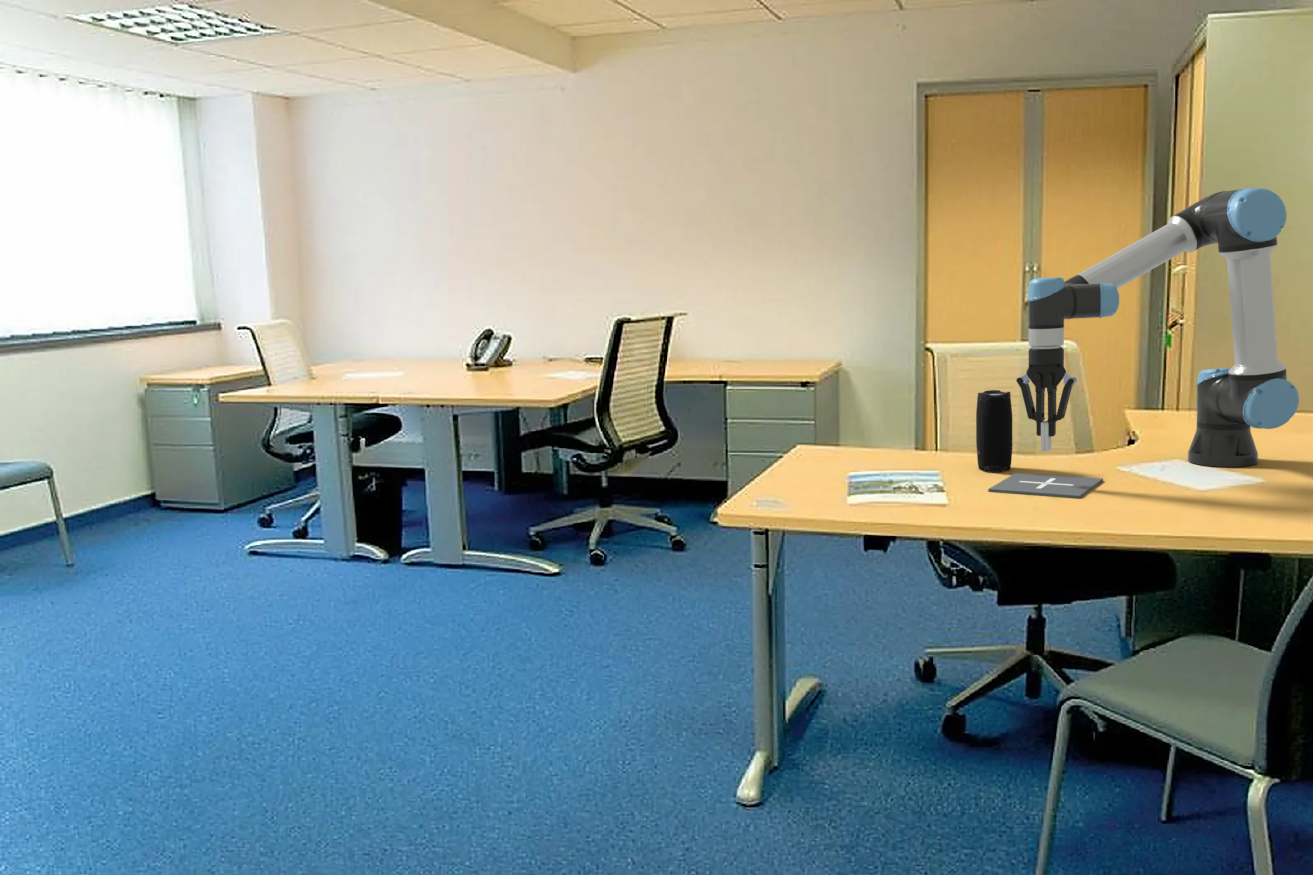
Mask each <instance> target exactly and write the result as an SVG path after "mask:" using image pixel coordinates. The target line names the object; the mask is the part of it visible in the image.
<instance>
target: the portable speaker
mask: <svg viewBox="0 0 1313 875" xmlns="http://www.w3.org/2000/svg"><path fill="white" fill-rule="evenodd" d="M1011 395H1012V394H1011V391H1001V390H998V389H997V390H996V389H994V390H993V389H992V390H991V389H989V390H984V391H983V392H977V398H976V401H977V402H976V411H975V412H976V413H975V417H976V418H975V419H976V420H975V423H976V424H975V425H976V426H975V430H976V432H975V433H976V434H975V436H976V437H975V441H976V443H975V444H976V445H975V446H976V456H977V457H976V458H977V465H978V470H982V469H983V470H984V471H985V472H986V473H1001V472H1002V471H1003V470H1005V469H1007V470H1011V468H1012V459H1013V456H1012V455H1013V410H1012V408H1013V407H1012V398H1011V397H1012V396H1011Z"/></svg>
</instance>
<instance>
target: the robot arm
mask: <svg viewBox="0 0 1313 875" xmlns="http://www.w3.org/2000/svg"><path fill="white" fill-rule="evenodd" d="M1286 209H1287V208H1286V206H1285V203H1284V202H1283V200H1282V198H1281V197H1280V196H1279V195H1278V194H1276V193H1275V192H1274V191H1272V190H1270V189H1268V188H1263V187H1245V188H1240V189H1239V188H1238V189H1233V190H1226V191H1225V190H1223V191H1218V192H1217V191H1216V192H1215V193H1212V194H1210V195H1208V196H1207V195H1206V196H1205V197H1204V198H1201V199H1200V200H1198V201H1196V202H1195V203H1193V204H1191V205H1189V206H1188V207H1186V208H1185V209H1183V210H1181V211H1180V212H1178V213H1176V214H1174V215H1173V216H1171V217H1170V218H1169V219H1168V221H1167V224H1165V225H1163V226H1161V227H1160V228H1158V229H1156V230H1154V231H1153V232H1151V233H1149V234H1147V235H1145V236H1144V237H1142V238H1140V239H1138V240H1137V241H1135V242H1133V243H1131V244H1130V245H1128V246H1126V247H1124V248H1122V249H1121V250H1119V251H1116V252H1115V253H1113V254H1111V255H1110V256H1108V257H1107V258H1104V259H1102V260H1101V261H1099V262H1097V263H1095V264H1094V265H1092V266H1090V267H1088V268H1086V269H1085V270H1083V271H1081V272H1079V273H1078V274H1076V275H1074V276H1072V277H1070V278H1068V279H1066V280H1065V279H1064V278H1063V277H1061V276H1060V277H1058V276H1057V277H1037V278H1033V279H1031V280H1030V281H1029V283H1028V284H1029V285H1028V292H1027V293H1028V296H1027V302H1028V307H1027V308H1028V346H1029V347H1030V348H1029V349H1028V367H1027V370H1026V373H1025V374H1024V375H1022V376H1020V377H1017V378H1016V379H1015V380H1016V383H1017V385H1018V386H1019V387H1020V389H1021V394H1022V397H1023V398H1022V399H1023V402H1024V406H1025V410H1026V411H1025V412H1026V415H1027V418H1028V419H1029V420H1033V421H1035V422H1036V424H1035V425H1036V436H1038V437H1040V452H1050V451H1051V450H1052V437H1055V436H1056V433H1057V432H1056V431H1057V430H1056V429H1057V421H1058V422H1059V421H1061V420H1063V419H1064V418H1065V416H1066V413H1067V412H1066V411H1067V408H1068V404H1069V400H1070V397H1071V393H1072V389H1073V386H1074V385H1075V384H1076V382H1077V378H1076V377H1075V376H1074V377H1072V376H1070V375H1069V374H1068V373H1067V369H1066V368H1065V348H1064V347H1062V346H1063V345H1064V344H1065V320H1072V319H1073V320H1074V319H1090V318H1091V319H1095V318H1099V319H1101V318H1106V317H1107V318H1108V317H1112V316H1114V315H1115V314H1116V313H1117V311H1118V309H1119V306H1120V294H1119V290H1118V289H1120V288H1121V287H1123V286H1125V285H1126V284H1129V283H1130V282H1132V281H1134V280H1135V279H1138V278H1139V277H1141V276H1143V275H1144V274H1147V273H1148V272H1150V271H1152V270H1154V269H1155V268H1157V267H1158V266H1159V267H1160V266H1161V265H1162V264H1164V263H1166V262H1168V261H1170V260H1172V259H1174V258H1175V257H1177V256H1179V255H1181V254H1183V253H1184V252H1186V253H1189V254H1190V253H1193V252H1195V251H1197V250H1199V249H1201V248H1203V247H1206V246H1208V245H1213V244H1214V245H1215V244H1217V247H1218V250H1217V251H1218V254H1219V255H1220V256H1221V257H1223V258H1224V259H1225V260H1226V263H1227V264H1226V265H1227V267H1226V268H1227V277H1228V278H1227V279H1228V291H1229V292H1228V293H1229V303H1230V304H1229V305H1230V317H1231V329H1232V343H1233V356H1234V357H1233V358H1234V364H1233V366H1231V367H1221V368H1208V369H1203V370H1200V372H1199V373H1198V375H1197V383H1196V387H1197V388H1196V389H1197V392H1196V394H1197V395H1196V430H1195V433H1194V436H1193V439H1192V441H1191V444H1190V447H1189V449H1188V452H1187V461H1188V462H1189V463H1192V464H1195V465H1200V466H1206V467H1207V466H1208V467H1218V468H1219V467H1221V468H1223V467H1224V468H1225V467H1226V468H1236V467H1248V466H1254V465H1256V464H1258V462H1259V459H1258V458H1259V452H1258V449H1257V447H1256V444H1255V441H1254V437H1253V435H1252V432H1251V430H1252V429H1251V428H1254V429H1258V430H1260V429H1261V430H1263V429H1264V430H1271V429H1277V428H1279V427H1282V426H1284V425H1286V424H1287V423H1288V422H1289V421H1290V420H1291V418H1293V417H1294V416H1295V415H1296V412H1297V411H1298V408H1299V404H1300V394H1299V391H1298V389H1297V387H1296V386H1295V385H1293V383H1291V381H1289V380H1288V379H1287V378H1288V377H1287V367H1286V366H1287V365H1285V364H1283V363H1282V362H1281V361H1279V358H1278V346H1277V344H1278V343H1277V334H1276V320H1275V318H1276V316H1275V306H1274V304H1275V302H1274V292H1273V291H1274V289H1273V278H1272V277H1273V276H1272V263H1271V262H1272V261H1271V255H1272V253H1273V251H1274V250H1275V249H1276V248H1277V247H1278V235H1279V234H1281V232H1282V229H1283V228H1285V225H1286V222H1287V210H1286ZM1062 380H1063V382H1062ZM1030 381H1031V383H1032V384H1033V385H1034V387H1035V389H1034V390H1035V404H1034V399H1033V395H1032V391H1031V386H1030V384H1029V383H1030ZM1061 382H1062V383H1063V385H1064V386H1063V388H1062V393H1061V396H1060V401H1059V404H1058V409H1057V390H1058V386H1059V385H1060V383H1061ZM1046 391H1047V392H1046ZM1045 392H1046V393H1047V420H1045V419H1046V417H1045Z"/></svg>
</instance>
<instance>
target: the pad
mask: <svg viewBox="0 0 1313 875" xmlns="http://www.w3.org/2000/svg"><path fill="white" fill-rule="evenodd" d="M1103 481H1104V478H1103V477H1090V476H1089V477H1088V476H1086V477H1085V476H1071V475H1056V474H1040V473H1039V474H1038V473H1027V472H1026V473H1025V472H1024V473H1023V472H1014V474H1011V475H1009V476H1008V477H1007V478H1005V479H1003V480H1001V481H1000V482H998V483H996V484H994V485H993V486H991V487H989V488H987V489H988V490H987V492H991V493H1000V494H1002V493H1003V494H1016V495H1029V496H1040V497H1041V496H1043V497H1055V498H1068V499H1081V498H1083V497H1084V496H1085V495H1086V494H1088V493H1089V492H1091V491H1092V490H1093V489H1094V488H1095V487H1097V486H1098V485H1100V484H1101V483H1102V482H1103Z"/></svg>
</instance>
